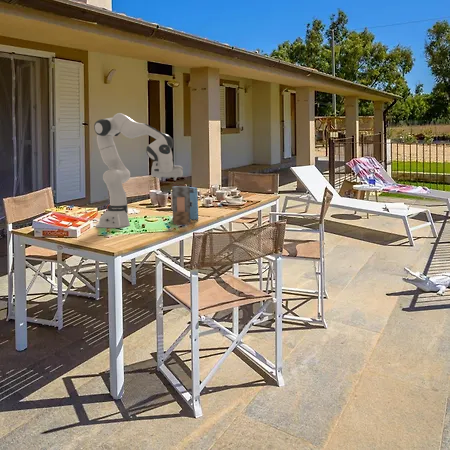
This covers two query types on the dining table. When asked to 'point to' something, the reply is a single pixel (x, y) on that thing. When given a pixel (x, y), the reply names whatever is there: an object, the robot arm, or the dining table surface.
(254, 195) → the dining table surface
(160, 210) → the dining table surface
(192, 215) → the gum box
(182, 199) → the salmon brown rectangular block
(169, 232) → the dining table surface
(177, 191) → the wall board with cleat
